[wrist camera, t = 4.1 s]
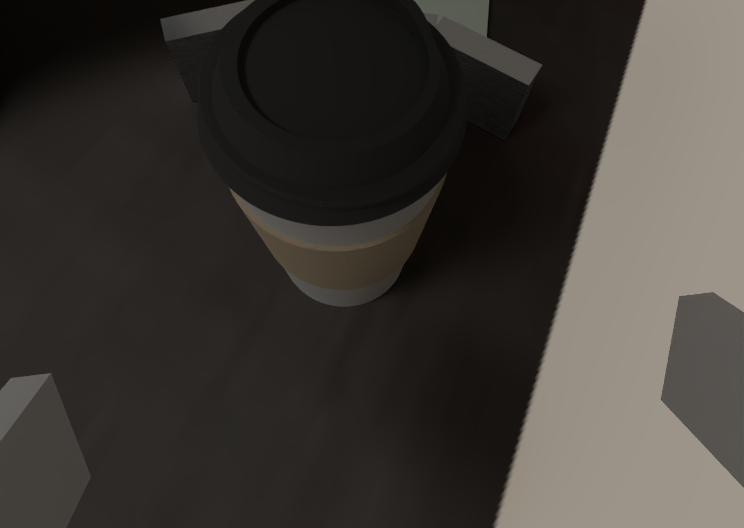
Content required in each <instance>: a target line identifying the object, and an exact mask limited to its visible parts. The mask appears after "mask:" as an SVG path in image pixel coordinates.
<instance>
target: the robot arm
mask: <svg viewBox="0 0 744 528" xmlns="http://www.w3.org/2000/svg"><path fill="white" fill-rule="evenodd" d="M661 400H662V401H663V402H664V403H665V404H666V405H667V407H668V408H669V409H670V410H671V411H672V412H673V413H674V414H675V415H676V416H677V417H678V418H679V419H680V420H681V421H682V422H683V424H684V425H685V426H686V427H687V428H688V429H689V430H690V431H691V432H692V433H693V434H694V435H695V436H696V437H697V438H698V440H700V442H701V443H702V444H703V445H704V446H705V447H706V448H707V449H708V450H709V451H710V452H711V453H712V454H713V455H714V457H715V458H716V459H717V460H718V461H719V462H720V463H721V464H722V465H723V466H724V467H725V468H726V469H727V470H728V471H729V472H730V473H731V474H732V476H733V477H734V478H735V479H736V480H737V481H738V482H739V483H740V484H741V485H742V486H743V487H744V313H743V312H742V311H740V310H739V309H738V308H736V307H735V306H733V305H731V304H730V303H728V302H727V301H725V300H724V299H722V298H721V297H719V296H718V295H716V294H715V293H703V294H695V295H687V296H680V297H679V301H678V307H677V312H676V318H675V324H674V329H673V335H672V340H671V346H670V351H669V358H668V363H667V369H666V374H665V380H664V385H663V391H662V396H661ZM90 478H91V476H90V473H89V471H88V468H87V466H86V463H85V460H84V458H83V455H82V453H81V450H80V447H79V445H78V442H77V440H76V437H75V434H74V432H73V429H72V427H71V424H70V422H69V419H68V416H67V414H66V411H65V409H64V406H63V403H62V401H61V398H60V396H59V393H58V391H57V388H56V385H55V383H54V380H53V378H52V375H51V373H49V374H41V375H33V376H25V377H17V378H11V379H10V380H9V381H8V382H7V384H6V385H5V386H4V387H3V388H2V389H1V391H0V528H66V527H67V525H68V523H69V521H70V519H71V517H72V515H73V513H74V511H75V509H76V507H77V504H78V502H79V500H80V498H81V496H82V494H83V492H84V490H85V488H86V486H87V484H88V482H89V480H90Z"/></svg>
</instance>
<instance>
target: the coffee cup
mask: <svg viewBox="0 0 744 528" xmlns="http://www.w3.org/2000/svg"><path fill="white" fill-rule="evenodd" d="M197 100H198V129H199V134H200V139H201V142H202V145H203V148H204V151H205V153H206V155H207V158H208V160H209V161H210V163H211V165H212V167H213V168H214V170H215V171H216V173H217V174H218V175H219V176H220V178H221V179H222V180H223V181H224V182H225V183H226V185H227V186H228V187H229V188H230V190H231V192H232V194H233V196H234V198H235V200H236V201H237V203H238V204H239V206H240V207H241V209H242V210H243V212H244V213H245V215H246V216H247V218H248V219H249V221H250V222H251V223H252V225H253V226H254V228H255V229H256V231H257V232H258V234H259V235H260V237H261V238H262V240H263V241H264V243H265V244H266V245H267V247H268V248H269V250H270V251H271V253H272V254H273V256H274V257H275V258H276V260H277V261H278V262H279V263H280V264H281V265H282V266H283V267H284V269H285V270H286V272H287V273H288V275H289V276H290V278H291V280H292V281H293V282H294V284H295V285H296V286H297V287H298V288H299V289H300V290H301V291H302V292H304V293H305V294H306V295H308V296H309V297H311V298H313V299H315V300H317V301H319V302H322V303H324V304H328V305H333V306H341V307H348V306H356V305H361V304H365V303H367V302H370V301H372V300H374V299H376V298H378V297H379V296H381V295H382V294H384V293H385V292H386V291H387V290H388V289H389V288H390V287H391V286H392V285H393V284H394V282H395V281H396V280H397V278H398V276H399V274H400V272H401V270H402V268H403V265H404V263H405V262H406V261H407V259H408V258H409V257H410V255H411V253H412V252H413V250H414V248H415V246H416V244H417V241H418V239H419V237H420V235H421V233H422V230H423V228H424V226H425V224H426V221H427V219H428V217H429V215H430V213H431V210H432V208H433V206H434V204H435V202H436V199H437V197H438V195H439V193H440V190H441V188H442V186H443V183H444V181H445V177H446V174H447V172H448V170H449V169H450V167H451V166H452V164H453V163H454V161H455V159H456V157H457V155H458V153H459V151H460V148H461V146H462V143H463V139H464V136H465V131H466V124H467V112H468V90H467V83H466V79H465V75H464V72H463V69H462V66H461V64H460V62H459V60H458V58H457V56H456V54H455V52H454V50H453V49H452V47H451V46H450V44H449V43H448V42H447V40H446V39H445V38H444V37H443V35H442V34H441V33H440V32H439V31H438V30H437V29H436V28H435V27H434V26H433V25H432V24H431V23H430V22H428V21H427V19H426V17H425V15H424V13H423V12H422V10H421V9H420V7H419V6H418V4H417V3H416V2H415V1H414V0H255V1H253V2H252V3H251V4H249V5H248V6H247V7H246V8H245V9H243V10H242V11H241V12H239V13H238V14H237V15H235V16H234V17H233V18H232V19H231V20H230V21H229V22H228V23H227V24H226V25H225V26H224V27H223V28H222V29H221V31H220V32H219V33H218V34H217V36H216V37H215V38H214V40H213V41H212V43H211V44H210V46H209V48H208V50H207V52H206V54H205V56H204V59H203V61H202V64H201V67H200V71H199V76H198V84H197Z"/></svg>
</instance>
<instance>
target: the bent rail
mask: <svg viewBox="0 0 744 528" xmlns="http://www.w3.org/2000/svg"><path fill="white" fill-rule="evenodd" d="M253 1H255V0H246V1H241V2H237V3H232V4H227V5H223V6H218V7H213V8H209V9H204V10H199V11H195V12H190V13H185V14H181V15H176V16H171V17H167V18H162V19H160V21H161V25H162V30H163V34H164V38H165V42H166V44H167V47H168V49H169V51H170V53H171V55H172V58H173V60H174V62H175V64H176V67H177V69H178V71H179V73H180V75H181V78H182V80H183V82H184V84H185V86H186V89H187V91H188V93H189V95H190V98H191V100H192V102H195V101H198V100H197V84H198V76H199V71H200V67H201V64H202V61H203V59H204V56H205V54H206V52H207V50H208V48H209V46H210V44H211V43H212V41H213V40H214V38H215V37H216V36H217V34H218V33H219V32H220V31H221V29H222V28H223V27H224V26H225V25H226V24H227V23H228V22H229V21H230V20H231V19H232V18H233V17H234V16H235V15H237V14H238V13H239V12H241V11H242V10H243V9H245V8H246V7H247V6H248V5H249V4H251V3H252V2H253ZM424 15H425V17H426V19H427V21H428V22H430V23H431V24H432V25H433V26H434V27H435V28H436V29H437V30H438V31H439V32H440V33H441V34H442V35H443V37H444V38H445V39H446V40H447V42H448V43H449V44H450V46H451V47H452V49H453V50H454V52H455V54H456V56H457V58H458V60H459V62H460V64H461V66H462V69H463V72H464V75H465V79H466V83H467V90H468V112H467V121H468V122H470V123H472V124H474V125H476V126H477V127H479V128H481V129H483V130H485V131H487V132H489V133H491V134H493V135H495V136H496V137H498V138H500V139H502V140H504V141H505V139H506V138H507V136H508V135H509V133H510V132H511V130H512V129H513V127H514V125H515V124H516V122H517V120H518V118H519V116H520V114H521V111H522V109H523V107H524V105H525V102H526V100H527V98H528V96H529V94H530V91H531V89H532V87H533V85H534V82H535V80H536V78H537V76H538V74H539V71H540V69H541V67H542V64H540V63H538V62H536V61H533V60H531V59H529V58H527V57H525V56H523V55H521V54H519V53H517V52H515V51H513V50H511V49H509V48H507V47H505V46H503V45H501V44H499V43H497V42H495V41H493V40H491V39H489V38H487V37H485V36H483V35H481V34H479V33H477V32H475V31H473V30H471V29H469V28H467V27H465V26H463V25H461V24H459V23H457V22H455V21H453V20H451V19H448V18H446V17H444V16H443V18H442V19H441V20H440V21H439V23H438V24H437V18H438V15H437V14H428V13H424Z"/></svg>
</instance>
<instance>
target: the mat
mask: <svg viewBox="0 0 744 528" xmlns="http://www.w3.org/2000/svg"><path fill="white" fill-rule="evenodd" d="M414 1H415V2H416V3H417V4H418V6H419V7H420V9H421V10H422V12H423V13H428V14H437V15H438V18H437V24H438V23H439V21H440V20H441V19H442V18H443V16H444V17H446V18H448V19H451V20H453V21H455V22H457V23H459V24H461V25H463V26H465V27H467V28H469V29H471V30H473V31H475V32H477V33H479V34H481V35H483V36H485V37H487V25H488V11H489V0H414Z"/></svg>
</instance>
